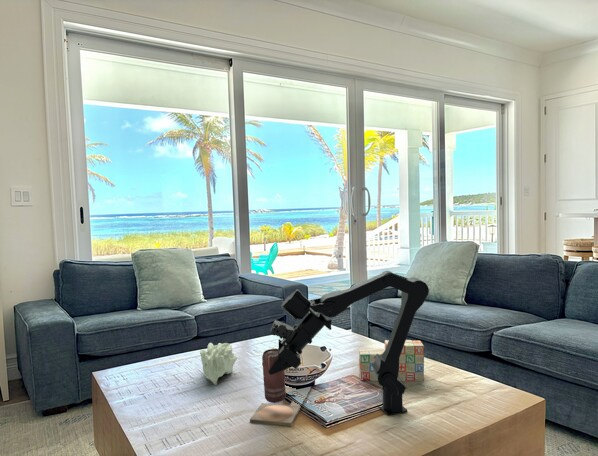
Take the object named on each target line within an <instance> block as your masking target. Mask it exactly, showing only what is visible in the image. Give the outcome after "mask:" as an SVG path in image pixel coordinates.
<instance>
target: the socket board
mask: <svg viewBox="0 0 598 456" xmlns="http://www.w3.org/2000/svg"><path fill="white" fill-rule="evenodd" d="M285 389H286V392H289V391H292V390H296V388H292V387H289V386H286V385H285ZM300 408H301V409H302V407H301V406H300V405H299V404H297V403H295V402H294V401H293V400H292V401H291V403H290V404H278V403H266V402H265V403H264V402H262V403H261V404H259V406H258V408H257V409H256V410H255V412H254V413H253V414H252V416H251V417H250V418H249V423H254V424H255V423H256V424H266V425H267V424H268V425H275V426H276V425H278V426H287V427H288V426H289V427H291V426H293V424H294V422H295V420H296V418H297V416H298V414H299V412H300V411H301V409H300Z"/></svg>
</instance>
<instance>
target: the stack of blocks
mask: <svg viewBox="0 0 598 456" xmlns="http://www.w3.org/2000/svg"><path fill="white" fill-rule="evenodd" d="M388 341H389V339H388V340H387V339H385V340H384V348H359V349H358V351H359V352H358V354H359V355H358V357H359V358H358V359H359V363H358V366H359V367H358V369H359V379H360V378H361V379H363V380H362V381H377V379H376V377H375V375H374V373H373V367H372V364H373V363H374V362H375V358H376V354H379V355H382V354H383V352H384V351H385V350H386V347H387V344H388ZM424 346H425V345H424V344H423V343H422V341H421V340H411V339H406V341H405V344H404V347H403V349H402V352H401V355H400V358H399V374H398V376H399V378H400V379H401V381H402V382H404V381H405V382H406V381H407V382H424V381H425V354H424V353H425V350H424V349H425V347H424ZM361 379H360V380H361ZM377 382H378V381H377Z"/></svg>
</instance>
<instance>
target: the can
mask: <svg viewBox="0 0 598 456" xmlns="http://www.w3.org/2000/svg"><path fill="white" fill-rule="evenodd" d="M261 358H262V359H261V361H262V375H263V391H264V399H265V400H266V401H267V402H269V403H270V404H278V403H281V402H283V401H284V399H286V396H287V395H286V389H285V379H286V378H285V377H286V376H285V370H282V371H280V372H277V373H275V374H272V375H270V374H269V370H270V369H271V367H272V366H273V364H274V363H275V361H276V360H277V358H278V348H269V349H266V350H264V351H263V354H262V356H261Z"/></svg>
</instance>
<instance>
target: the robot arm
mask: <svg viewBox="0 0 598 456" xmlns="http://www.w3.org/2000/svg"><path fill="white" fill-rule="evenodd" d="M387 288H393V289H396V290H398V291H401V299H400V300H401V301H400V303H401V304H400V308H399V310H398V313H397V317H396V319H395V322H394V325H393V328H392V330H391V333H390V336H389V339H388V340H389V341H388V344H387V347H386V350H385V351H384V352H383V354H382V355H379V354H376V358H375V362H374V363H373V364H372V367H373V373H374V375H375V377H376V379H377V383H378V384H379V385H380V386H381V388H382V389H381V396H382V397H381V398H382V399H381V400H382V401H381V402H382V403H381V404H383V406H382V407H380V408H381V409H380V408H379V409H380V410H381V411H382V412H383V413H384V414H385V415H387V416H391V415H397V414H403V413H404V414H405V413H408V409H407V408H406V407H405V406H404V405H403V395H404V394H405V391H406V388H407V387H406V386H405V384H404V381H401V379H400V378H399V376H398V374H399V358H400V355H401V352H402V349H403V347H404V344H405V341H406V340H407V337H408V335H409V332H410V330H411V327H412V325H413V321H414V318H415V316H416V313H417V312H418V310H419V309H420V308H422V306H423V304H424V303H425V301H426V300H427V298H428V296H429V293H430V288H429V286H428V284H427V283H426V282H425V281H424V280H421V279H419V278H418V277H414V276H413V277H409V278H407V277H405V276H402V275H400V274H399V275H398V274H396V273H393V272H392V271H391V270H384V271H382V272H381V273H379V274H378V275H376V276H373V277H370V278H369V279H367V280H364V281H362V282H360V283H358V284H355V285H353V286H351V287H349V288H347V289H343V290H342V289H341V290H337V291H336V290H335V291H331V292H328V293H325V294H323V295H321V297H318V298H313V299H308V298H307V297H306V296H304V295H303V293H302V292H301V290H300V289H296V290H295V291H294V292H292V293H291V294H290V295H288V296H287V297H286V298H285V299H284V300H283V302H282V303H281V305H280V307H281V308H282V309H283V310H284V311H285V312H286V313H288V314H289V315H290V316H291V318H293V319H294V320H301V321H300V322H299V323H295V324H294V325H293V326H291V325H289V324H287V323H284V322H282V321H279V320H277V319H275V320H274V321H273V323H272V326H271V328H270V332H269V333H270V335H272V336H276V337H279V339H278V348H277V349H278V358H277V360H276V361H275V363H274V364H273V366H272V367H271V369H270V370H269V374H270V375H272V374H275V373H277V372H280V371H282V370H284V371H285V370H288V369H290V368H294V370H297V369H298V368H299V367H300V366H301V364H302V361H301V355H302V353H303V350H304V349H305V347H306V346H307V345H308V344H309V345H310V344H312V343H313V339H314V338H315V336H317V335H318V333H319V332H320V331H321V330H322V329H323V328H324V327H325V328H326V329H328V330H329V331H330V330H332V329H333V328H332V320H333V319H331V318H335V317H337V316H338V315H340V314H342V313H343V312H344V311H345V310H347V309H348V307H350V306H351V305H353V304H354V303H357V302H358V301H361V300H363V299H365V298H368V297H369V296H371V295H374V294H376V293H378V292H380V291H382V290H385V289H387Z"/></svg>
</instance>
